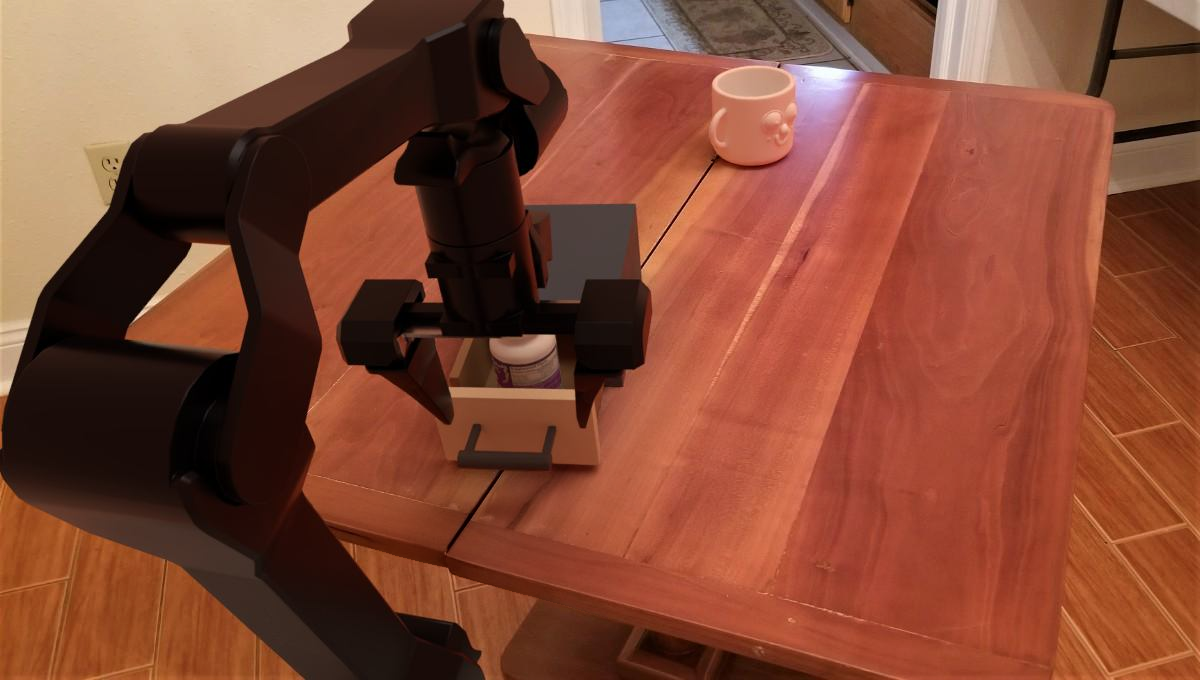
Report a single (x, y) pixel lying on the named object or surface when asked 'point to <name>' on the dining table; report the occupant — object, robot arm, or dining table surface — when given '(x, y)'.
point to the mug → (753, 114)
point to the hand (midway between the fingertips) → (516, 422)
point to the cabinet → (590, 249)
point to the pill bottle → (526, 362)
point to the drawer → (515, 417)
